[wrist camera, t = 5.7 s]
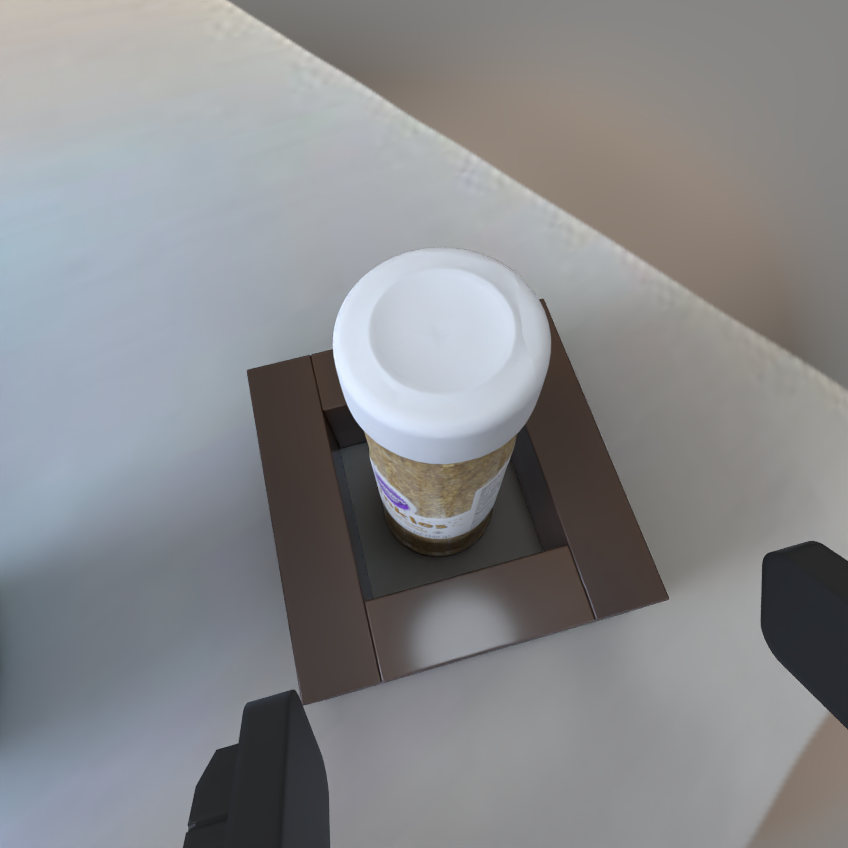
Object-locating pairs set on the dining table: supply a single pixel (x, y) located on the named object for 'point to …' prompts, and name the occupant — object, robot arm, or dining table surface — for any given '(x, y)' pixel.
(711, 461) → the dining table surface
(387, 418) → the sprinkles bottle
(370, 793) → the dining table surface
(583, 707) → the dining table surface
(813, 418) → the dining table surface
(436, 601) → the bottle rack
